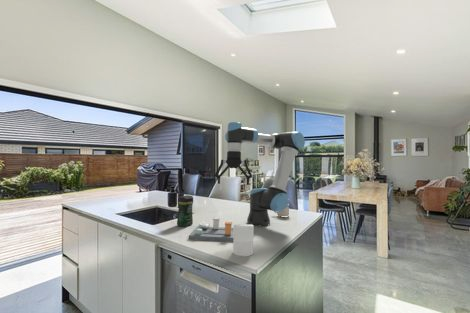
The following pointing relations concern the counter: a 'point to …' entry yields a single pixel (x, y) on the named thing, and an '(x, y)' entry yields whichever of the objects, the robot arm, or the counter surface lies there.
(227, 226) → the slider
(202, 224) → the light grey flat piece
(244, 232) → the cylinder with rectangular tab
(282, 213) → the teacup with lid
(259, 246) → the counter surface
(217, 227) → the slider
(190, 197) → the coffee jar
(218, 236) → the panel
